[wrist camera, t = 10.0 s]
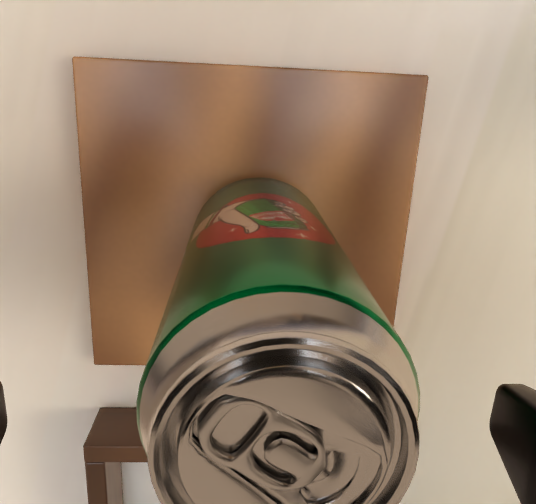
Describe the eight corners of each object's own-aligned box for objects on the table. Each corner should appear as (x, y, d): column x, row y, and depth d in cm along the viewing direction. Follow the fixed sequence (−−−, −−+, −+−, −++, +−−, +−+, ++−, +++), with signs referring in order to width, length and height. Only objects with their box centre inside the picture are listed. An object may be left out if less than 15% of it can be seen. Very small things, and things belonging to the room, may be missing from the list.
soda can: (272, 321, 20) (315, 619, 9) (168, 255, 19) (60, 499, 8) (348, 223, 19) (511, 421, 8) (242, 147, 18) (245, 246, 7)
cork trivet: (423, 75, 18) (429, 75, 17) (383, 361, 22) (387, 369, 21) (76, 57, 17) (71, 56, 17) (97, 357, 21) (93, 365, 20)
